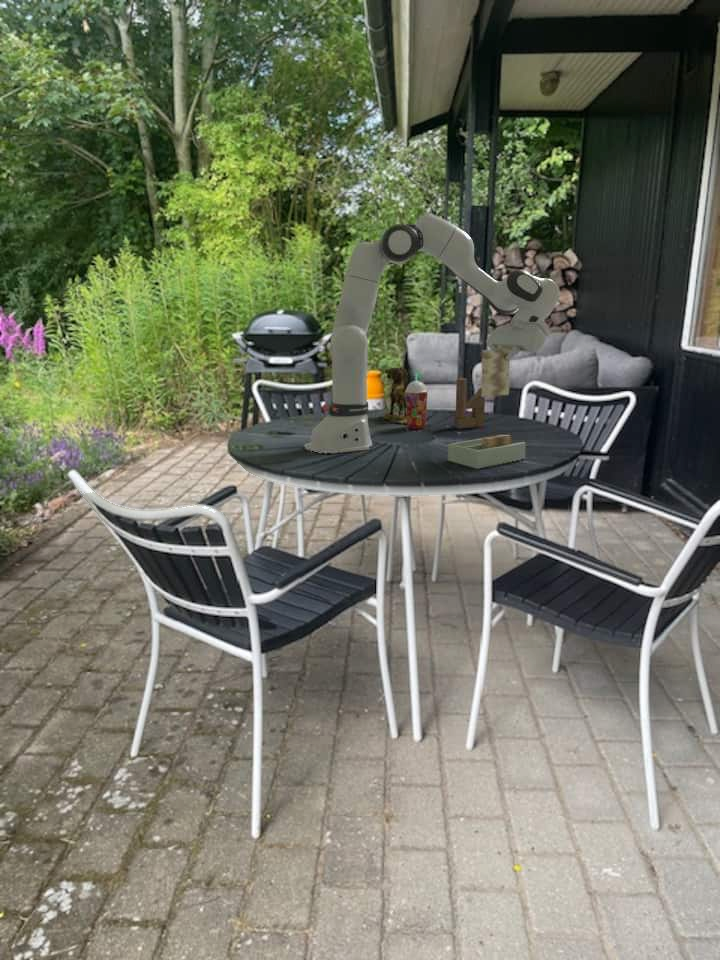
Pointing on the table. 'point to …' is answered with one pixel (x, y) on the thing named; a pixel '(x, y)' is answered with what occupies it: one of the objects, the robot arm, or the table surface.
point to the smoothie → (416, 404)
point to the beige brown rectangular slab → (495, 373)
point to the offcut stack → (496, 441)
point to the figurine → (397, 394)
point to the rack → (484, 453)
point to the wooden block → (468, 407)
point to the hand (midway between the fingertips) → (501, 359)
